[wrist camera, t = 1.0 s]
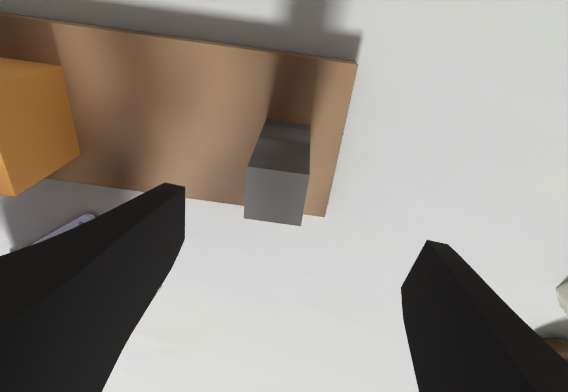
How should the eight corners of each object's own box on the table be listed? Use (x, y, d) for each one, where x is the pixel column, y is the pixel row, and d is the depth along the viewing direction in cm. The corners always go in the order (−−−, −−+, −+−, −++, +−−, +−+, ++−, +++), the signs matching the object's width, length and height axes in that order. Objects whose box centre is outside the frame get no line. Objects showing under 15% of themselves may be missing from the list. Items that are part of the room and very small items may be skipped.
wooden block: (-41, 157, 22) (-178, 217, 16) (-107, -3, 17) (-336, -5, 11) (324, 208, 22) (328, 288, 16) (355, 61, 17) (379, 94, 11)
